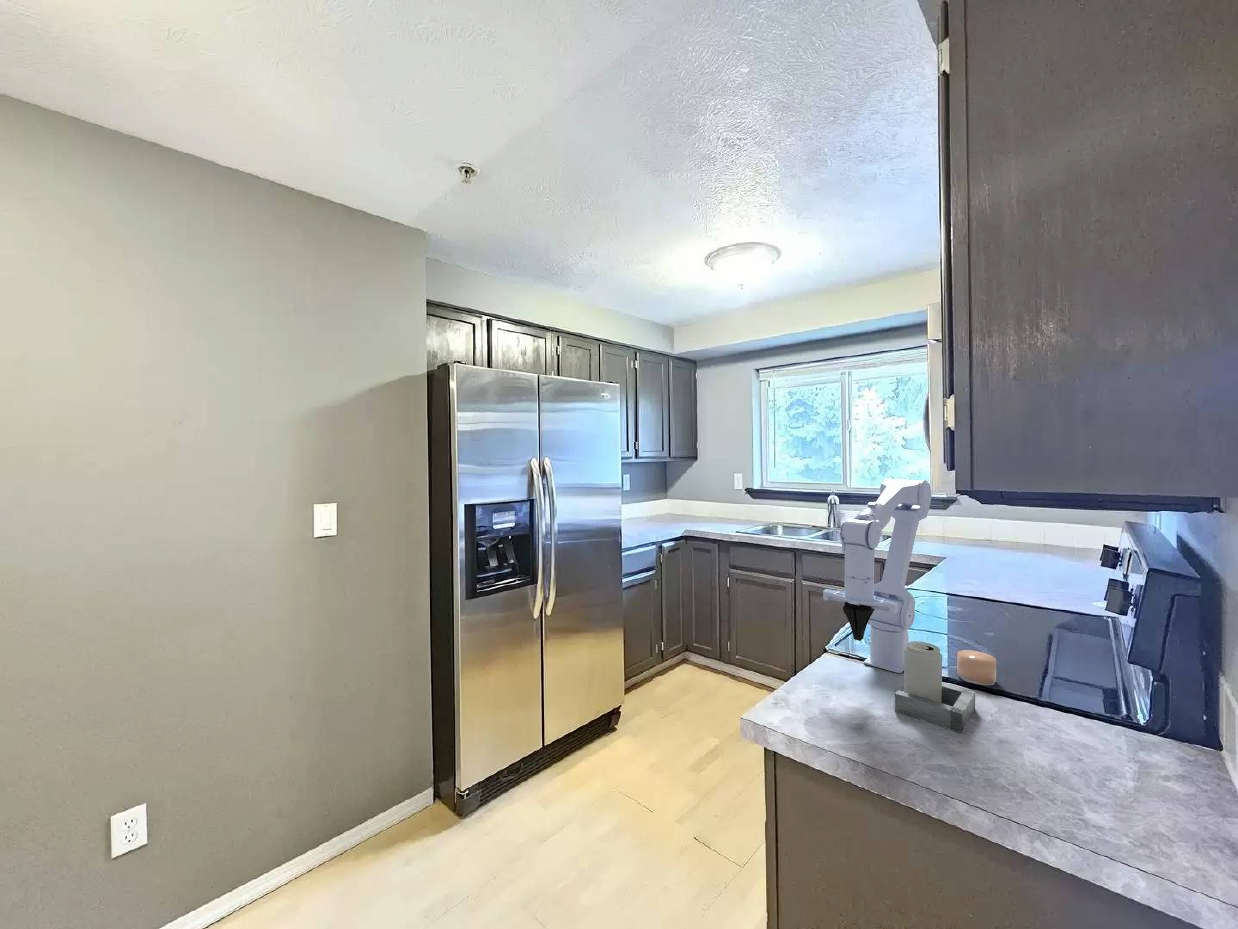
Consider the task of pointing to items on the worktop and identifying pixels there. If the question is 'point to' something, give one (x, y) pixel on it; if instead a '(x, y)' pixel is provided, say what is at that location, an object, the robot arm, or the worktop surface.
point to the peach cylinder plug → (976, 666)
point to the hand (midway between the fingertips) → (858, 639)
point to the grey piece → (939, 707)
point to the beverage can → (923, 670)
